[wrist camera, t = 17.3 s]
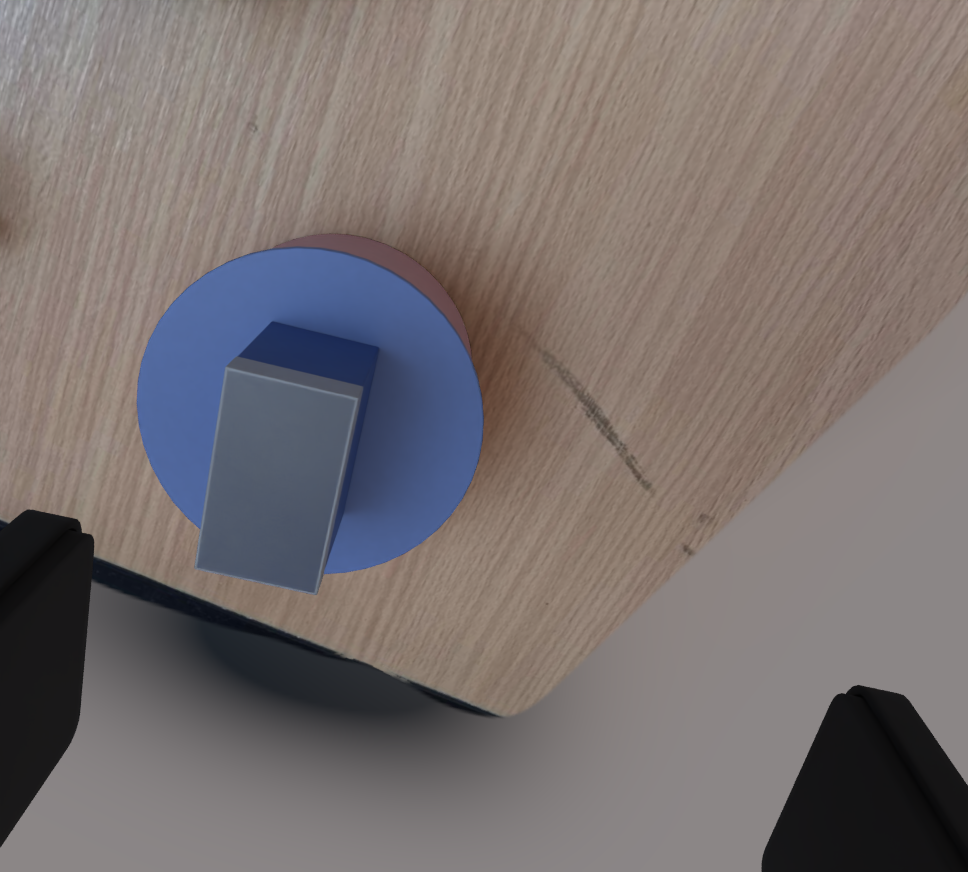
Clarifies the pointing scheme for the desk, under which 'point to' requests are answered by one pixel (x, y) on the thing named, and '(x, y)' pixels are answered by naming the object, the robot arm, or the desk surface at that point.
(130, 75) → the desk surface
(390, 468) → the blue round puck
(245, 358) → the grey and blue block
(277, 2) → the desk surface
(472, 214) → the desk surface
